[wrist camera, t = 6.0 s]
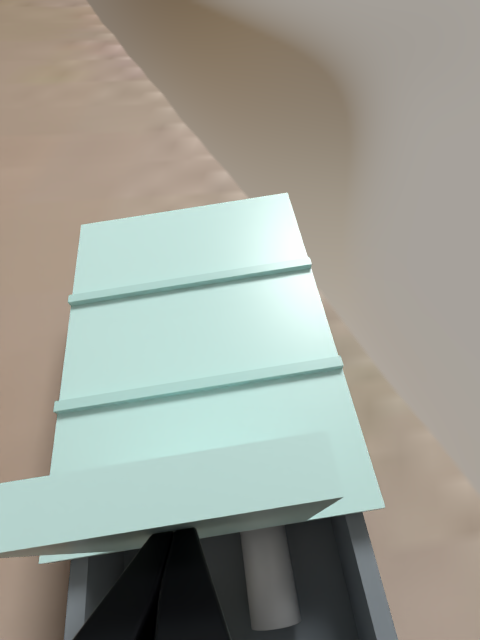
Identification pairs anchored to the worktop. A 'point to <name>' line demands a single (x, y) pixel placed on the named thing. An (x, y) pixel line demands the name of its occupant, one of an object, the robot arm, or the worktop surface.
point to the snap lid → (192, 390)
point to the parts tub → (271, 582)
